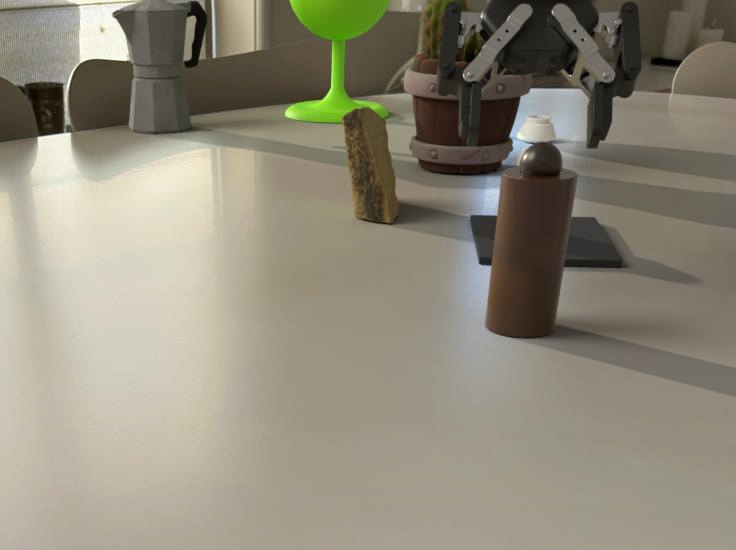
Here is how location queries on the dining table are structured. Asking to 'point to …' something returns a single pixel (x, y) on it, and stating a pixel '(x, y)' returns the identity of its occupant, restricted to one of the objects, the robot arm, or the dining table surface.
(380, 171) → the rock
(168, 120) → the coffeepot
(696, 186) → the dining table surface
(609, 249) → the mat
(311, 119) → the wineglass
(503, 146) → the flowerpot
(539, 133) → the white bowl
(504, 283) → the pepper mill
